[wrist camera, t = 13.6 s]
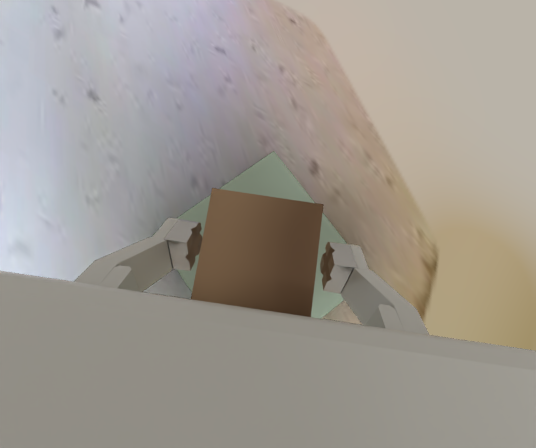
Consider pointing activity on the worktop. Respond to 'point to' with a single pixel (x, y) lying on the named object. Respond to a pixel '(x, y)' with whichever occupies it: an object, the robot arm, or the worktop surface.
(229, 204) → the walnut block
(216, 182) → the worktop surface
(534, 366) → the robot arm
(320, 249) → the rubber mat
